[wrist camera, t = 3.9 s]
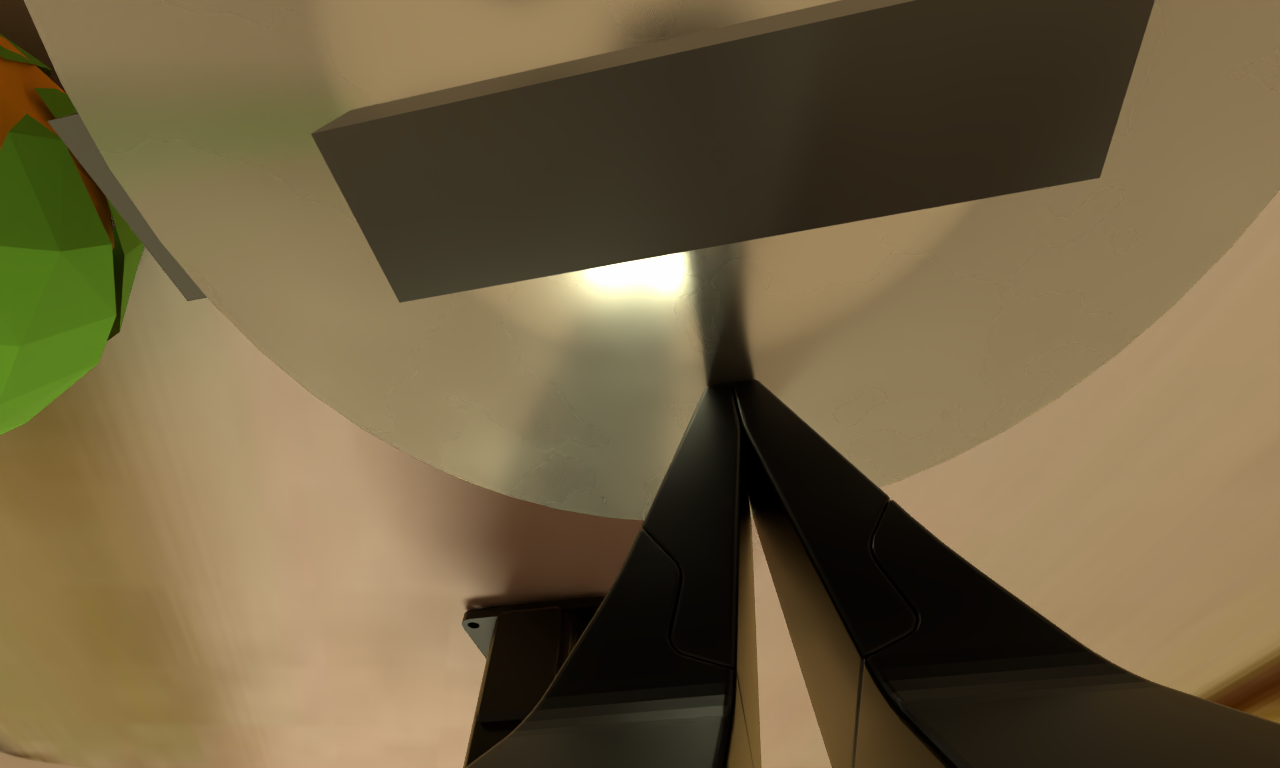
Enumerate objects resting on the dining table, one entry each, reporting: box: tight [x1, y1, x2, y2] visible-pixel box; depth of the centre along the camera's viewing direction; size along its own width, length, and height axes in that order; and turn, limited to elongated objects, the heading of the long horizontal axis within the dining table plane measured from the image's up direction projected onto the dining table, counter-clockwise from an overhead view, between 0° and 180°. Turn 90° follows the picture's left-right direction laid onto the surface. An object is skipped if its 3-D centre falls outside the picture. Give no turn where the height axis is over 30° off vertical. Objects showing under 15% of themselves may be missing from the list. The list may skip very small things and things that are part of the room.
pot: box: [48, 112, 207, 301], centre depth 9 cm, size 14×18×5 cm
